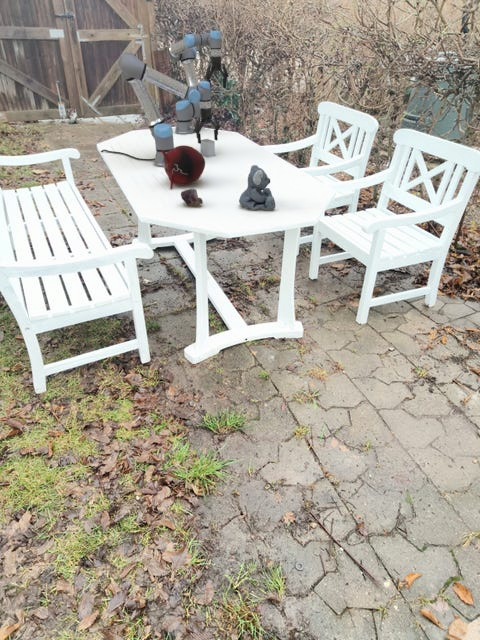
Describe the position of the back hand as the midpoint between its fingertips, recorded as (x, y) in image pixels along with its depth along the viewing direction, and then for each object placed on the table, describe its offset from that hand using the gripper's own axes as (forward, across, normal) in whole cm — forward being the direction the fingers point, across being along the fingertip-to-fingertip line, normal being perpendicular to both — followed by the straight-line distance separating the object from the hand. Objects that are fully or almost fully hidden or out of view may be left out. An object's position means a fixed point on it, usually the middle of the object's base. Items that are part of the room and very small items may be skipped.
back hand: (217, 89), depth 336 cm
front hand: (+26, -35, -38) cm, 58 cm away
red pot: (+34, -80, -81) cm, 119 cm away
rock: (+34, -97, -115) cm, 154 cm away
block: (+34, -36, -38) cm, 63 cm away
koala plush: (+34, -72, -137) cm, 158 cm away
